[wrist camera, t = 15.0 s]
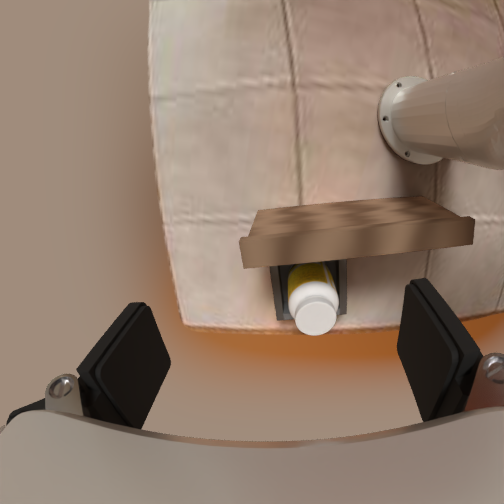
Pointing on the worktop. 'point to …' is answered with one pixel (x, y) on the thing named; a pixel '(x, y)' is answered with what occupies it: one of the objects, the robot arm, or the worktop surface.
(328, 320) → the pill bottle
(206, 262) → the worktop surface
